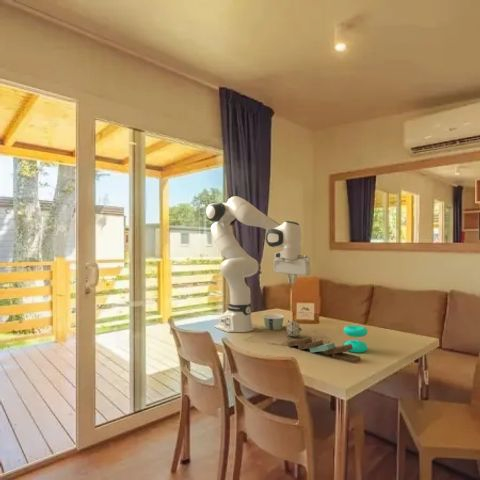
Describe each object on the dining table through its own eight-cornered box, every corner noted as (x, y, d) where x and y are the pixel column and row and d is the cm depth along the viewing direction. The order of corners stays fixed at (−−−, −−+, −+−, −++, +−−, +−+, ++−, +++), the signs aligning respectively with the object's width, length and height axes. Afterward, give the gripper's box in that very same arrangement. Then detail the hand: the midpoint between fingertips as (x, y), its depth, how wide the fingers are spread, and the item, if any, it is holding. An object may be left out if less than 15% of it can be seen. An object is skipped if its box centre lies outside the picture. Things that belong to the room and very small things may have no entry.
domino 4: (325, 350, 155) (345, 346, 148) (331, 347, 158) (351, 343, 152) (326, 354, 154) (347, 351, 148) (332, 352, 158) (353, 348, 151)
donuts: (362, 331, 155) (339, 327, 162) (362, 355, 155) (340, 350, 162) (370, 326, 163) (349, 323, 169) (371, 349, 163) (349, 345, 169)
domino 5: (331, 353, 153) (353, 359, 145) (338, 351, 156) (360, 356, 148) (331, 358, 153) (353, 364, 145) (338, 356, 156) (360, 361, 148)
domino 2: (297, 345, 164) (314, 342, 156) (305, 343, 167) (322, 339, 160) (299, 349, 163) (315, 347, 156) (306, 347, 166) (323, 344, 159)
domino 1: (287, 342, 168) (303, 339, 161) (294, 340, 171) (311, 337, 164) (288, 346, 168) (305, 343, 161) (295, 344, 171) (312, 341, 164)
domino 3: (309, 348, 159) (326, 344, 152) (316, 345, 162) (334, 342, 155) (310, 352, 159) (328, 349, 151) (318, 350, 162) (335, 347, 154)
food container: (284, 330, 197) (284, 318, 197) (261, 330, 199) (261, 318, 199) (284, 325, 209) (284, 314, 209) (263, 325, 210) (263, 313, 210)
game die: (295, 343, 186) (306, 326, 187) (293, 341, 178) (305, 324, 180) (281, 333, 190) (292, 316, 191) (278, 330, 182) (290, 314, 183)
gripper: (313, 255, 173) (313, 284, 173) (279, 253, 188) (279, 280, 188) (305, 255, 169) (305, 286, 169) (271, 254, 183) (271, 281, 183)
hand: (291, 283), depth 178 cm, fingers closed
